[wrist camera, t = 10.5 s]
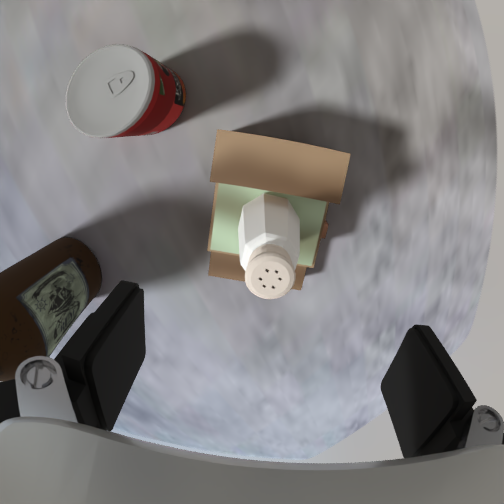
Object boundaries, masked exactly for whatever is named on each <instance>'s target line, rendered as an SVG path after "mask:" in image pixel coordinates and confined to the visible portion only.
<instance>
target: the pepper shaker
mask: <svg viewBox="0 0 504 504" xmlns="http://www.w3.org/2000/svg"><path fill="white" fill-rule="evenodd" d="M238 238H239V255H240V264H241V266H242V267H243V269H244V270H245V282H246V285H247V287H248V288H249V290H250V291H251V292H252V293H253V294H255V295H256V296H258V297H260V298H264V299H276V298H280V297H282V296H284V295H286V294H287V293H288V292H289V291H290V290H291V288H292V287H293V285H294V282H295V276H296V273H295V269H296V265H297V262H298V259H299V254H300V219H299V217H298V215H297V214H296V212H295V210H294V209H293V207H292V205H291V204H290V202H289V200H288V199H286V198H282V197H278V196H274V195H269V194H265V193H263V194H262V195H260V196H258V197H257V198H255V199H253V200H252V201H250V202H248V203H247V204H245V205H243V208H242V212H241V217H240V221H239V226H238Z"/></svg>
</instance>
